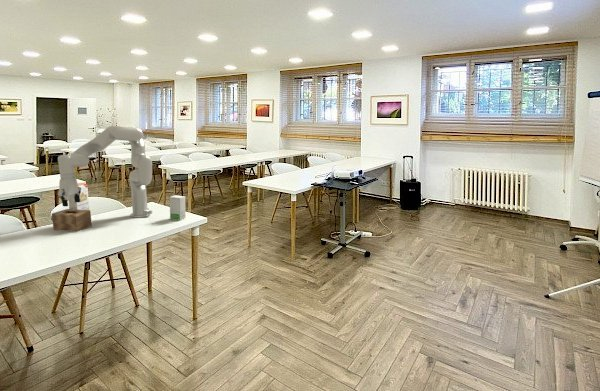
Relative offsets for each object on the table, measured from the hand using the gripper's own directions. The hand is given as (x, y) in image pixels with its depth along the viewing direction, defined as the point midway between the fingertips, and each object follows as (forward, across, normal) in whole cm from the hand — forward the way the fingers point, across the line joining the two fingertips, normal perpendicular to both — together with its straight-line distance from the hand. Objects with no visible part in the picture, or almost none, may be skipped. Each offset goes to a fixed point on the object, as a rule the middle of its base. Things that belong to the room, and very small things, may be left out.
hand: (71, 204), depth 224 cm
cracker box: (+15, -27, -18) cm, 36 cm away
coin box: (+15, +1, 0) cm, 15 cm away
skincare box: (+16, -33, +50) cm, 63 cm away
